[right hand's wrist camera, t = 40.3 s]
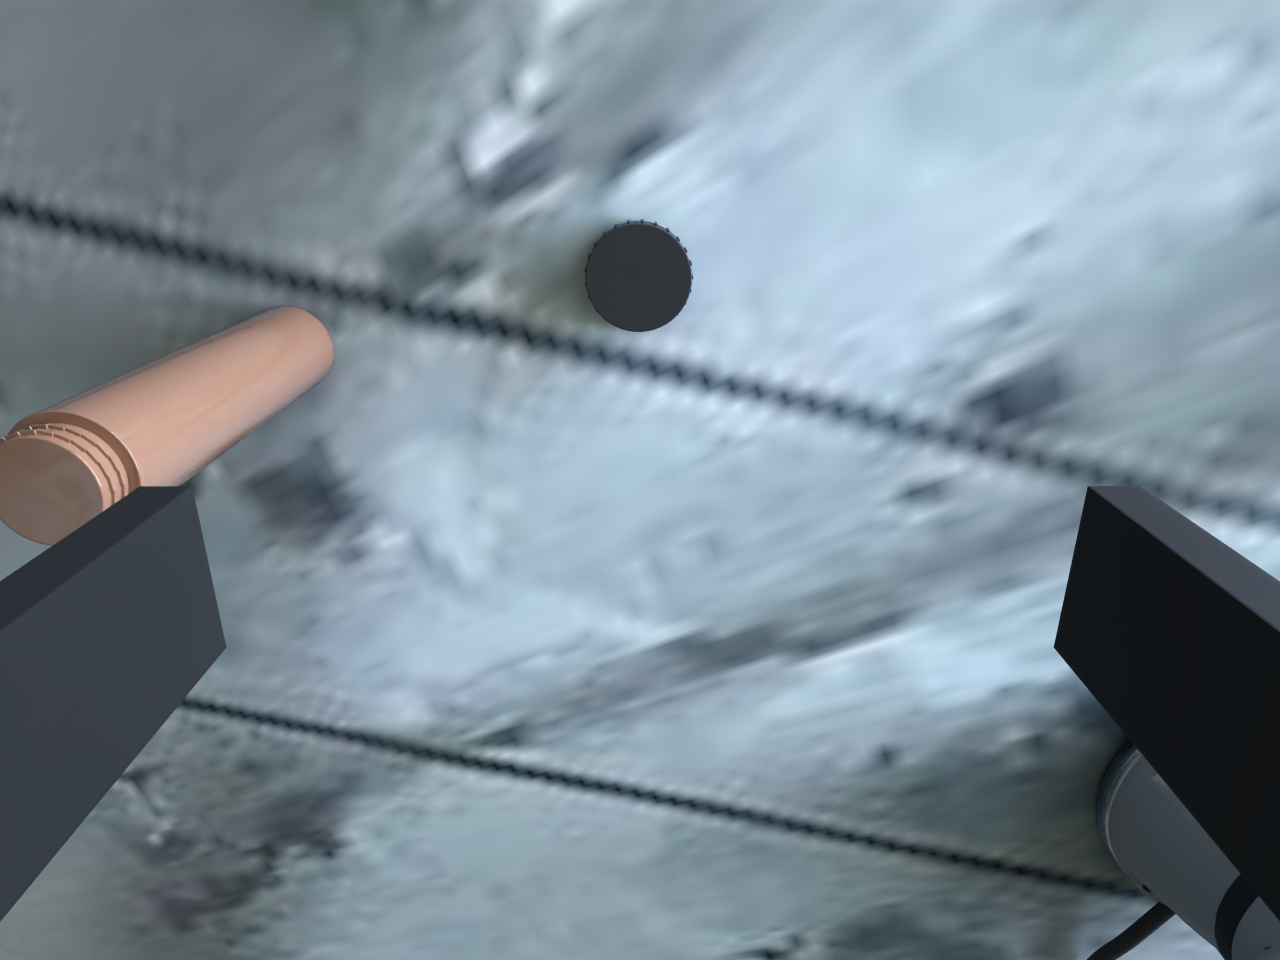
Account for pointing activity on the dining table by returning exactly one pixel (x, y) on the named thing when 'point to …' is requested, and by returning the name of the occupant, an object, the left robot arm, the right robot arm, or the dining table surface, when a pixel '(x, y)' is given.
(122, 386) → the jar
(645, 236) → the lid
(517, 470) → the dining table surface
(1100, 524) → the right robot arm
